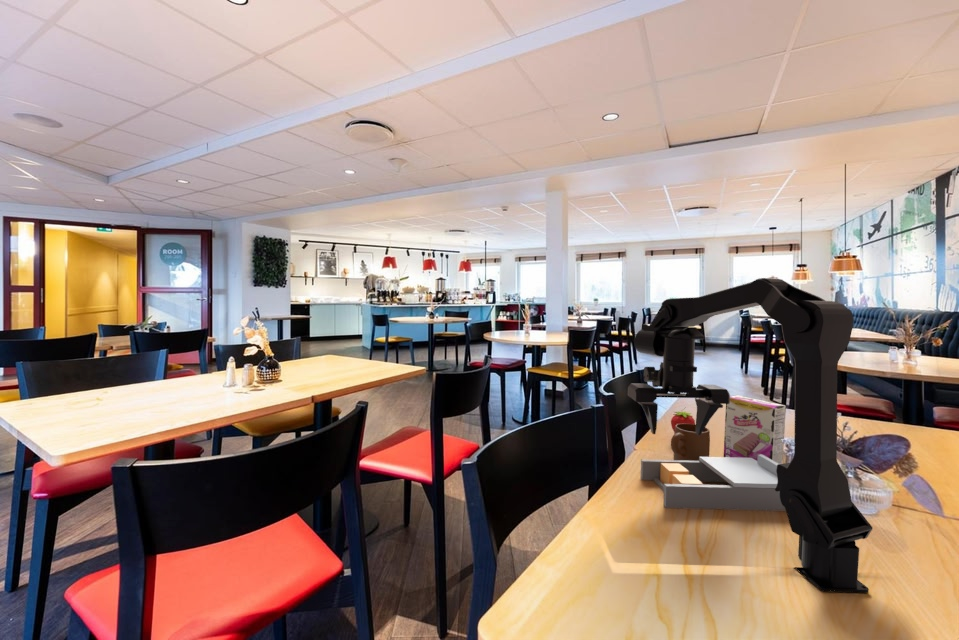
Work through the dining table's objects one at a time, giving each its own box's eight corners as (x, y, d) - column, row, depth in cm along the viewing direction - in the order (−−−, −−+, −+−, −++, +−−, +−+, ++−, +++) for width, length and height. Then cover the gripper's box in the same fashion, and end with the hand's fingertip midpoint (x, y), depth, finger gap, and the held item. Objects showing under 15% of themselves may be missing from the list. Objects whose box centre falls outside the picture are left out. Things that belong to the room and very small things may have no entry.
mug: (688, 480, 90) (689, 438, 90) (656, 468, 96) (657, 429, 96) (714, 468, 97) (716, 429, 96) (683, 457, 103) (685, 421, 103)
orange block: (702, 504, 77) (703, 483, 77) (681, 503, 78) (681, 483, 77) (692, 494, 81) (692, 474, 81) (671, 493, 82) (672, 474, 81)
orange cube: (688, 490, 83) (689, 471, 83) (668, 490, 83) (669, 471, 83) (678, 481, 87) (679, 463, 87) (660, 481, 87) (660, 463, 87)
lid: (795, 488, 75) (796, 473, 75) (734, 487, 75) (734, 472, 75) (751, 461, 88) (752, 448, 88) (699, 460, 88) (699, 447, 88)
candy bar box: (722, 461, 101) (724, 396, 100) (734, 458, 103) (736, 394, 102) (771, 479, 91) (774, 407, 90) (783, 475, 93) (786, 404, 92)
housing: (794, 515, 75) (795, 489, 75) (665, 512, 76) (666, 486, 76) (750, 484, 88) (751, 461, 88) (640, 481, 89) (641, 459, 89)
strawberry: (698, 441, 115) (700, 406, 115) (687, 447, 111) (688, 410, 110) (677, 435, 120) (678, 402, 119) (665, 441, 115) (666, 406, 115)
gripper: (703, 355, 92) (701, 423, 92) (620, 353, 92) (618, 421, 93) (733, 362, 80) (729, 440, 81) (638, 361, 81) (635, 438, 82)
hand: (675, 434), depth 85 cm, fingers open, 9 cm apart
